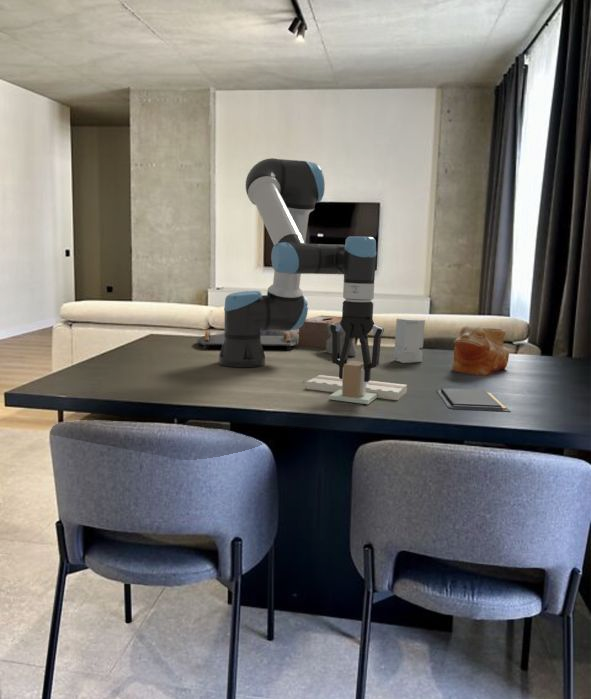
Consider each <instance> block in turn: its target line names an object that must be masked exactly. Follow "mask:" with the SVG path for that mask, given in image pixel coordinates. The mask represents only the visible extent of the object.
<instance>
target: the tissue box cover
mask: <svg viewBox="0 0 591 699" xmlns="http://www.w3.org/2000/svg"><path fill="white" fill-rule="evenodd" d="M341 319H342V316H338V315H337V316H336V315H334V316H333V315H323V314H322V315H317V316H314V317H310V318H306V320H305V322H304V324H303V325H302V327H300V328H299V329H298V347H299V346H301V347H311V348H320V349H326V341H327V340H328V339H329V338H330V336H329V332H328V329H327V325H328V324H329V323H332V324H338V323H340V321H341Z"/></svg>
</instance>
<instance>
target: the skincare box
mask: <svg viewBox="0 0 591 699" xmlns="http://www.w3.org/2000/svg"><path fill="white" fill-rule="evenodd" d="M425 323H426V320H425V319H418V318H402V317H401V318H400V317H399V318H396V322H395V324H396V325H395V336H394V337H395V338H394V353H393V354H394V356H393V360H394V361H397V362H400V363H402V364H405V363H408V364H409V363H422V362H423V352H424V351H423V348H424V338H425V337H424V336H425V325H426V324H425Z"/></svg>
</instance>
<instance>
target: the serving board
mask: <svg viewBox="0 0 591 699" xmlns="http://www.w3.org/2000/svg"><path fill="white" fill-rule="evenodd" d="M204 332H205V333H204V335H203V336H200V337H198V338H197V340H196V342H197V343H199V345H203V350H209V349H210V346H223V343H224V336H225V334H210V330H209V329H207V330H205V331H204ZM260 340H261V344H262V347H263V346H265V347H267V346H269V347H275V346H277V347H285V350H286V351H292V346H295V345H296V344H298V340H297V339H296V338H294V337H292V336H290V331H284V335H260Z"/></svg>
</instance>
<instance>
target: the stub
mask: <svg viewBox="0 0 591 699" xmlns="http://www.w3.org/2000/svg"><path fill="white" fill-rule="evenodd" d="M363 368H364V363H363V361H357V360H349V361H347V363H346V364H344V371H343V393H342V389H339V390H338V391H336V392H332V393H331V394H330V395H329V400H332V401H340V402H347V403H348V402H349V403H355V404H362V405H363V404H365V405H369V404H370V403H372V402H373V401H374V400H376V399H377V393H369V392H366V393H365V394H364V395H360V382H361V369H363Z"/></svg>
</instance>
